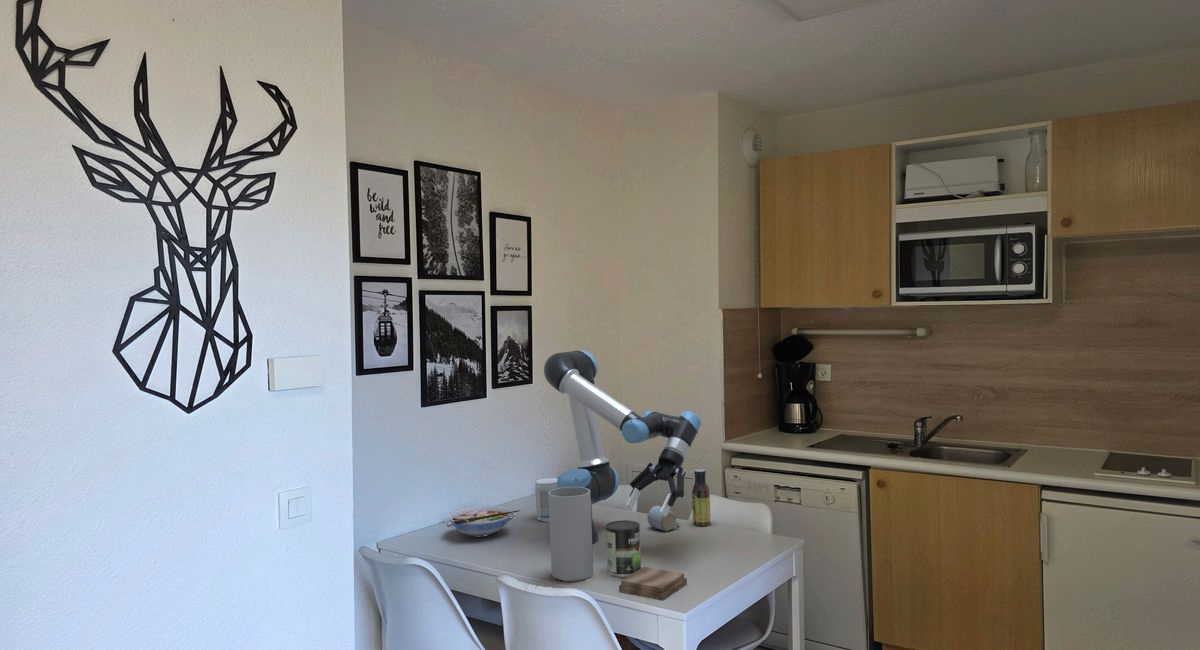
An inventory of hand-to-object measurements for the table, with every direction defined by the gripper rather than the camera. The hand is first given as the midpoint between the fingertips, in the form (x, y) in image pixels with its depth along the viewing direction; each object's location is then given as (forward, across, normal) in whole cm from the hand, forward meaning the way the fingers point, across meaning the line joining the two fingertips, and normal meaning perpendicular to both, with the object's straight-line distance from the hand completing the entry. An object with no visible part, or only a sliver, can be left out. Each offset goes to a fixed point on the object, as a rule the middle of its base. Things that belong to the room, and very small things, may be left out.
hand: (645, 511), depth 243 cm
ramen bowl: (+20, +67, -3) cm, 70 cm away
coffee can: (+19, 0, -4) cm, 19 cm away
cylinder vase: (+27, +10, +4) cm, 30 cm away
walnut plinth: (+23, -15, 0) cm, 27 cm away
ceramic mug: (-11, +19, -34) cm, 41 cm away
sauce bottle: (-19, +11, -42) cm, 48 cm away
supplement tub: (0, +62, -23) cm, 66 cm away
